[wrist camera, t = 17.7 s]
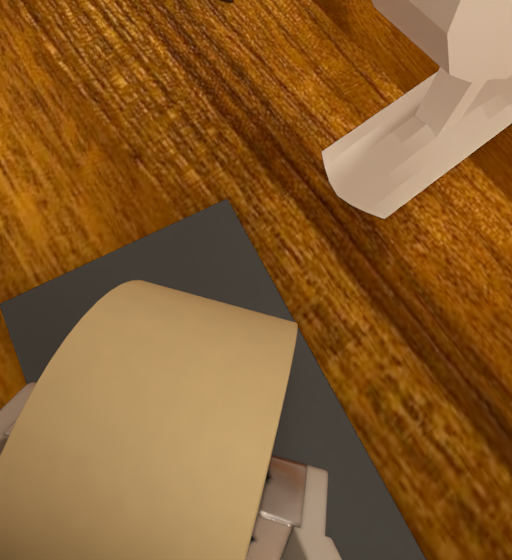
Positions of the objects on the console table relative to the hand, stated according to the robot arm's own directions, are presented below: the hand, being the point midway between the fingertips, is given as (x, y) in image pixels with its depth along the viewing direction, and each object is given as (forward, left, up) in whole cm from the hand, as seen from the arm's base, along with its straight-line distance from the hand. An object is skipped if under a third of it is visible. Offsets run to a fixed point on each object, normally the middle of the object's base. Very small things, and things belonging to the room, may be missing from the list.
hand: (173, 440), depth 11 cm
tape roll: (0, 0, -5) cm, 5 cm away
